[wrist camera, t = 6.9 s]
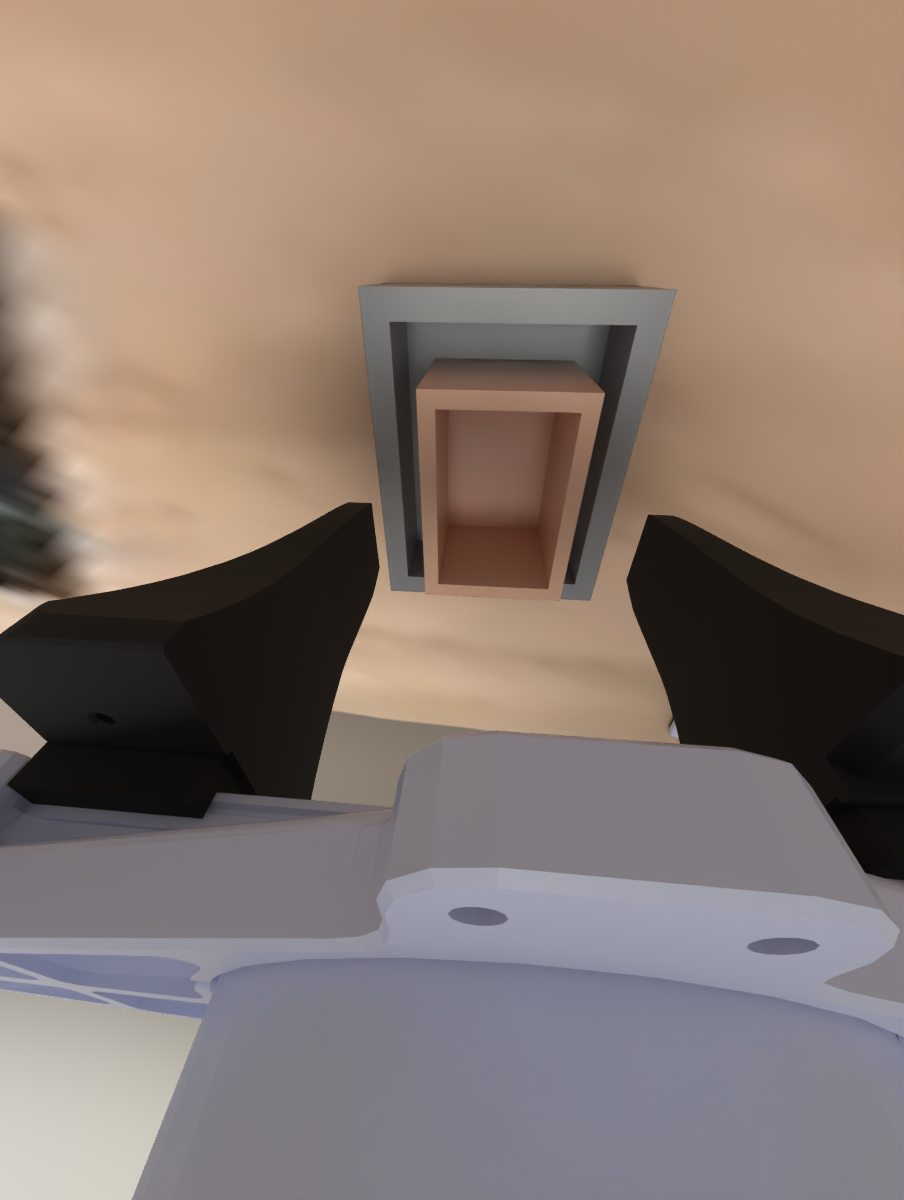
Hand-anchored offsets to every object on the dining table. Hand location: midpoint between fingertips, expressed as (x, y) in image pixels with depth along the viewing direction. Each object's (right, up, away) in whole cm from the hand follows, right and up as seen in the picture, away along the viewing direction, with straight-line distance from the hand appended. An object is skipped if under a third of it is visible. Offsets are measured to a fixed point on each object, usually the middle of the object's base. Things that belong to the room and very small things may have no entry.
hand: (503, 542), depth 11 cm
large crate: (0, +5, +6) cm, 8 cm away
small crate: (0, +4, +6) cm, 7 cm away
